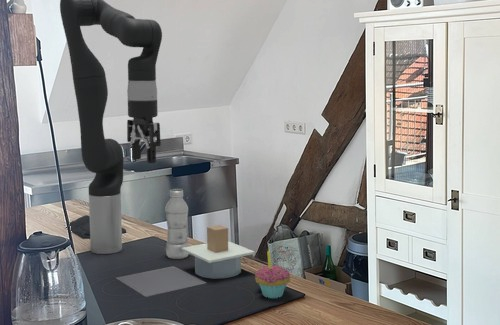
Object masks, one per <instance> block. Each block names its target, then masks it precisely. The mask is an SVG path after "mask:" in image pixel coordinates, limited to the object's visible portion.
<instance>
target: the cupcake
mask: <svg viewBox="0 0 500 325" xmlns="http://www.w3.org/2000/svg"><path fill="white" fill-rule="evenodd" d="M269 249H270V248H267V254H266V255H267V266H263V267H260V268H259V269H257V271H256V272H255V274H254V276H255V282H256V284H258V285H259V286H260V290H261V293H262V296H263V297H264V298H267V297H268V298H267V299H279V298H281V297H283V294H284V291H285V290H286V287H287V285H288V283H290V282H291V274H290V272H289V271H288V270H287V269H285V268H284V267H283V266H280V265H277V264H274V265H273V264H272V259H271V251H270V250H269ZM278 297H279V298H278Z"/></svg>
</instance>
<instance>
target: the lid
mask: <svg viewBox="0 0 500 325" xmlns="http://www.w3.org/2000/svg"><path fill="white" fill-rule="evenodd" d="M206 228H207V229H206V236H207V237H206V243H203V244H202V243H200V244H195V245H189V247H184V248H181V250H182V251H184V252H187V253H189V255H190V256H193V257H194V258H195V257H197V258H200V259H202V260H204V261H206V262H208V263H212V262H217V261H222V260H227V259H232V258H237V257H241V258H242V257H244V256H245V257H246V256H251V255H255V253H256V252H255V251H254V250H251V249H249V248H247V247H244V246H241V245H239V244H237V243H234V242H232V241H229V228H228V227H226V226H223V225H220V224H217V225H213V226H207V227H206Z"/></svg>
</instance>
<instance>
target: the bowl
mask: <svg viewBox="0 0 500 325" xmlns="http://www.w3.org/2000/svg"><path fill="white" fill-rule="evenodd" d="M241 264H242V256H241V257H237V258H232V259H227V260H222V261H217V262H212V263H208V262H206V261H204V260H202V259H200V258H197V257H195V256H194V271H195V272H194V273H195V275H197V276H199V277H200V278H206V279H214V280H215V279H227V278H228V279H229V278H232V277H235V276H236V277H237V276H238V275H239V274H241V273H242V265H241Z"/></svg>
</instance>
